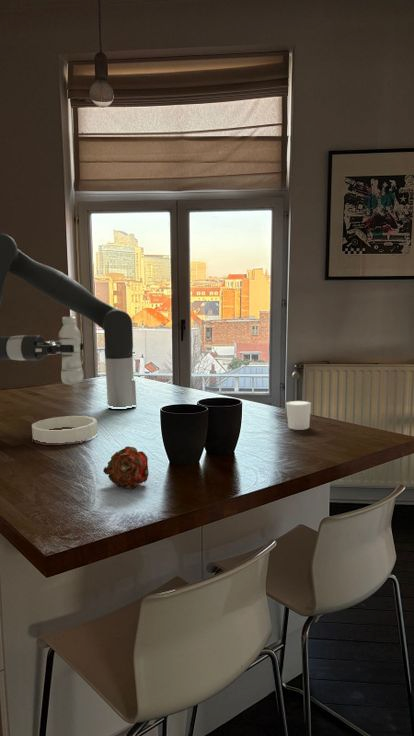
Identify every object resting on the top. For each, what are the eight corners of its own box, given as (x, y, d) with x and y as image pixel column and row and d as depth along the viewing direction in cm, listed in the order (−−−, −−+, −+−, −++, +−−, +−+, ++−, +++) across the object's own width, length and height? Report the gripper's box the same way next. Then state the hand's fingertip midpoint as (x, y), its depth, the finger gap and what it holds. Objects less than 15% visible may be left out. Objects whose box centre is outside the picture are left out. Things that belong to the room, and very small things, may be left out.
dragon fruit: (133, 504, 106) (120, 493, 118) (165, 473, 109) (150, 465, 120) (103, 472, 105) (93, 463, 116) (137, 441, 107) (124, 435, 118)
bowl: (93, 427, 163) (92, 413, 162) (101, 441, 147) (100, 426, 146) (32, 433, 158) (31, 419, 157) (33, 448, 142) (32, 433, 141)
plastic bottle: (56, 385, 165) (52, 317, 162) (72, 381, 171) (68, 316, 168) (73, 386, 162) (69, 317, 159) (88, 383, 168) (84, 316, 165)
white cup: (311, 430, 151) (310, 405, 150) (285, 430, 153) (285, 405, 152) (311, 424, 158) (311, 400, 157) (287, 424, 159) (286, 400, 158)
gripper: (12, 337, 160) (66, 336, 157) (37, 333, 174) (87, 332, 171) (14, 363, 161) (68, 363, 158) (39, 357, 175) (89, 357, 172)
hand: (78, 347), depth 164 cm, fingers closed on plastic bottle, 6 cm apart
